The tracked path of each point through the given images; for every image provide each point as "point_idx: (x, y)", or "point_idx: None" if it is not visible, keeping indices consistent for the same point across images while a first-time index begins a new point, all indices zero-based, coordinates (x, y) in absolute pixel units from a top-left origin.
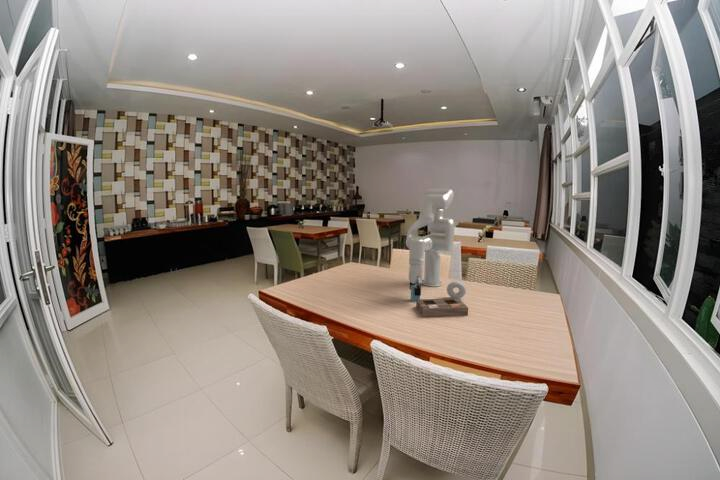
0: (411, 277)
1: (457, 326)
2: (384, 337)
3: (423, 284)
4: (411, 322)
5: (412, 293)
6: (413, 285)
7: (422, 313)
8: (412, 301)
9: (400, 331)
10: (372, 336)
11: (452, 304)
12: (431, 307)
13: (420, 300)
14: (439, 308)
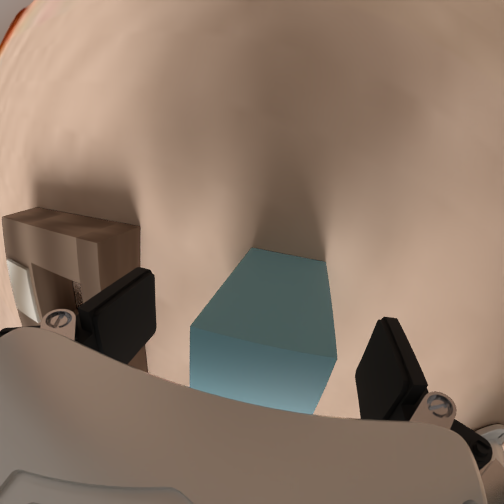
0: (19, 466)
1: (10, 298)
2: (6, 41)
3: (480, 429)
4: (18, 133)
5: (240, 281)
6: (304, 386)
7: (32, 211)
8: (252, 248)
9: (2, 85)
10: (21, 10)
11: None
12: (10, 271)
13: (82, 269)
14: (17, 306)
